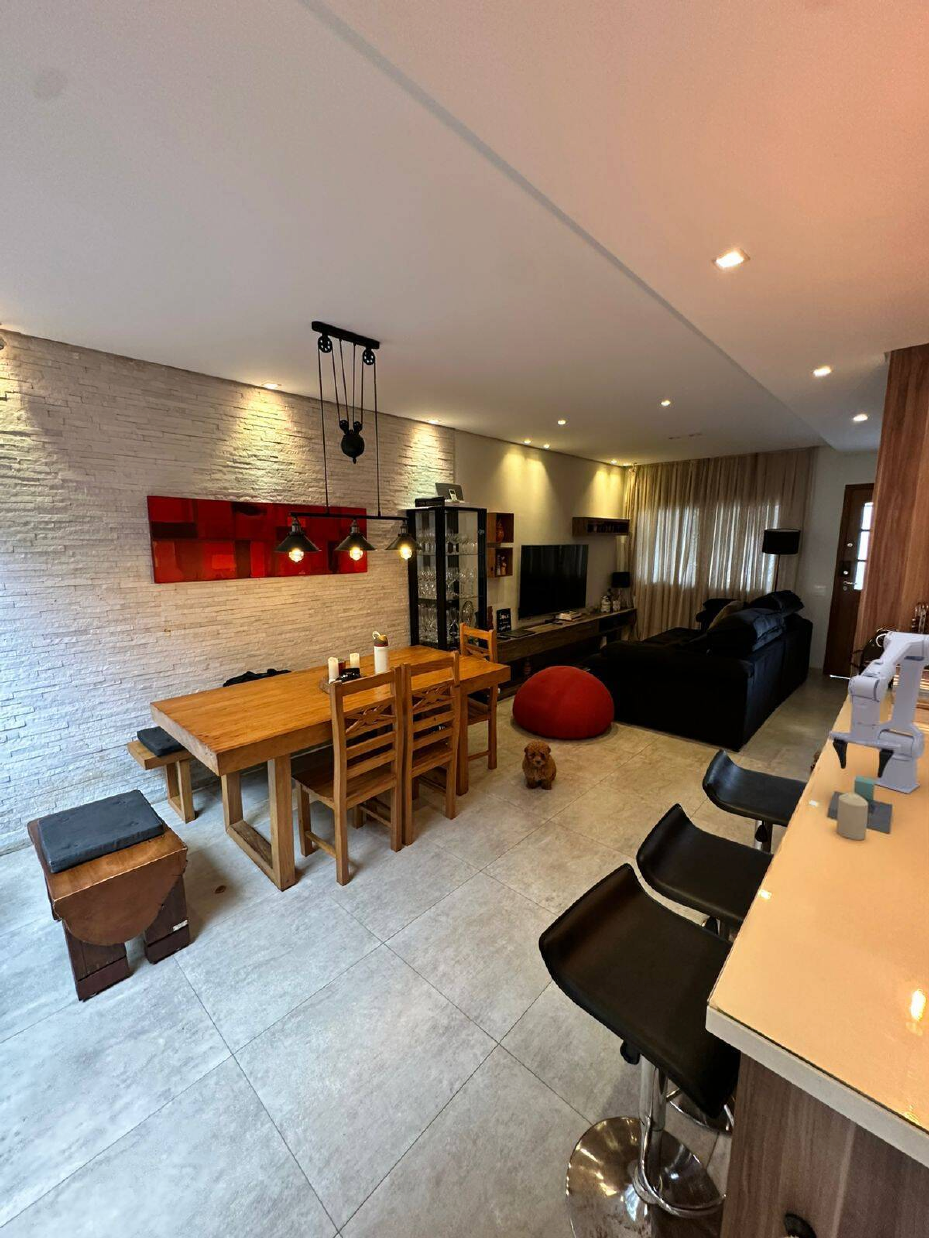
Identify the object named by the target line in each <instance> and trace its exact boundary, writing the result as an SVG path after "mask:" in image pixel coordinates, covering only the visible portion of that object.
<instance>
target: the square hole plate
mask: <svg viewBox="0 0 929 1238" xmlns="http://www.w3.org/2000/svg"><path fill="white" fill-rule="evenodd" d="M845 793H846V792H845ZM845 793H844V792H841V791H836V790H834V792H833V793H832V797H831V801H830V803H829V805H828V809H827V818H829V819H833V820H836V821H837V816H838V802H839V796H841V795H843V794H845ZM863 799H865V800H866V801H867V802H868V812H867V825H866V829H871V830H874V831H876V832H877V831H878V832H882V833H885V834H890V833H891V823H892V816H893V804H892V803H891V804H890V803H886V802H882V801H878V800H874V799H873V800H871V799H866V798H863Z"/></svg>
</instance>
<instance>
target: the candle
mask: <svg viewBox="0 0 929 1238" xmlns="http://www.w3.org/2000/svg"><path fill="white" fill-rule="evenodd" d="M867 812H868V802H867V801H866V800H865V799H863V798H862V797H861V796H859V795H858V794H856V793H854V791H846V792H845V794H843V795H841V796H839V802H838V816H837V820H836V832H837V834H839V835H840V836H843V837H845V838H846V839H849V840H855V841H862V840H865V839H866V835H867V828H866V825H867Z"/></svg>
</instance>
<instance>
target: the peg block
mask: <svg viewBox="0 0 929 1238" xmlns="http://www.w3.org/2000/svg"><path fill="white" fill-rule="evenodd" d="M875 780H876V779H875V778H874V779H873V778H870V777H864V776H860V775H855V778H854V784H853V785H854V787H853V792H854V793H856V794H858V795H859V796H861V797H862V798H866V799H871V800H874V798H875V785H876V784H875Z"/></svg>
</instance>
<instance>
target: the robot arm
mask: <svg viewBox="0 0 929 1238" xmlns="http://www.w3.org/2000/svg"><path fill="white" fill-rule="evenodd" d="M883 649H884V651H883V653H882V654H881V656H880V657H879V659H873V660H872V661H871V662H870V663H869V664H868V665H867V666H866V668H864V670H863V671H862V673H860V675H856V676H852V677H851V678H850V679H849V683H848V687H847V692H848V695H849V703H850V704H851V709H850V710H851V713H850V728H849V732H842V731H835V730H830V731H829V732H828V740H831V741H832V747H833V748H834V751H835V752H836V754H837V757H838V760H839V764H840V769H842V770H844V769H845V768H846V767H847V752H848V751H847V750H848V743H849V744H854V745H858V746H862V747H868V748H873V749H876V750H878V770H877V778H876V779H875V785H877V786H881V787H884V788H888V789H891V790H894V791H896V792H897V791H898V792H901V793H904V794H910V793H911V792H913V791H914V790H915V789H917V788H918V787H919V786H921V783H919V782H917V775H918V761H917V760H918V759H920V758H921V757H923V755H924V753H925V746H926V745H925V744H926V743H925V732H923V730H921V729H920V728H919V727H918V726H917V725H916V724H915V723H914V720H915V715H916V709H917V704H918V700H919V692H920V689H921V687H920V686H921V683H922V682H921V681H922V677H923V673H924V669H925V667H926V666H929V634H920V633H910V632H900V631H894V630H893V631H892V630H890V631H888V632H887V633H886V634H885V636H884V637H883ZM898 665H899V667H900V668H899V672H898V678H897V679H898V680H897V685H896V689H895V694H894V700H893V707H892V712H891V717H890V720H887V721H884V722H881V723H880V716H881V715H880V713H881V702H882V701H883V700H884V699H885V697H886V693H887V690H888V688H889V683H890V682H891V680H893V678H894V677H895V676H896V674H897V668H896V667H897V666H898Z"/></svg>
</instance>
